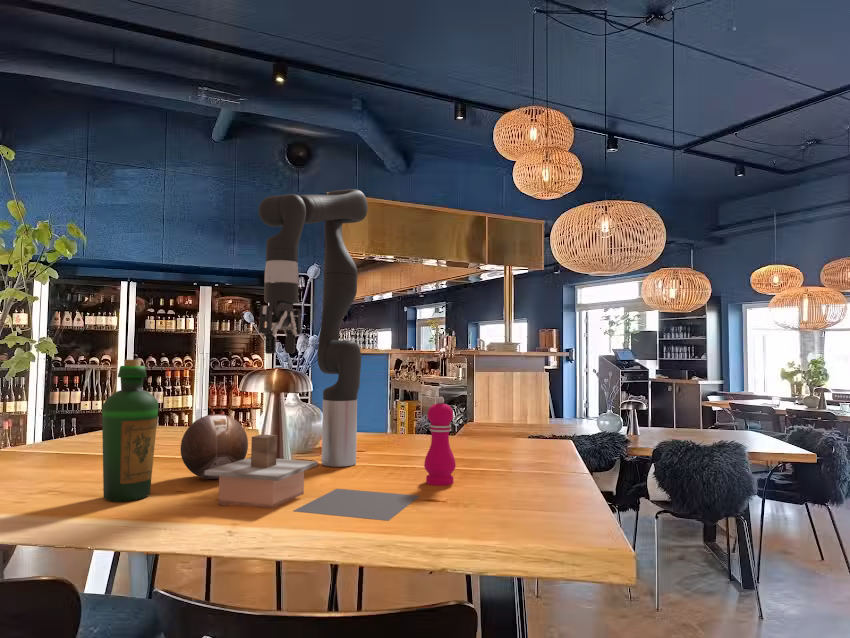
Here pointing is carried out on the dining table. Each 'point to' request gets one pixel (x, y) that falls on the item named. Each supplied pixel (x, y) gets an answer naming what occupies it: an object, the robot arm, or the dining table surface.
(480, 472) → the dining table surface
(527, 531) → the dining table surface
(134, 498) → the bottle
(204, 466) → the brown ball
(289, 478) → the pink storage bin
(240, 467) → the lid
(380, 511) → the mat
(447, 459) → the pepper mill
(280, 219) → the robot arm
